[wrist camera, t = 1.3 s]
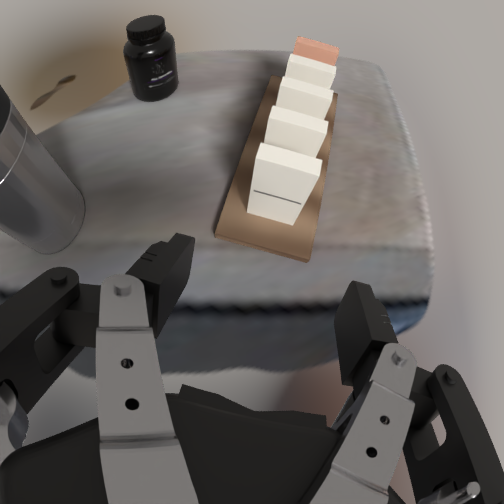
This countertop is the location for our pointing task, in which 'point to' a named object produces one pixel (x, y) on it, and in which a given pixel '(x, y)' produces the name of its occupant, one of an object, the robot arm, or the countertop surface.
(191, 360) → the countertop surface
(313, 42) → the domino
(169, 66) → the supplement bottle
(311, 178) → the domino
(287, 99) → the domino
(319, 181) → the board
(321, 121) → the domino
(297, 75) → the domino
